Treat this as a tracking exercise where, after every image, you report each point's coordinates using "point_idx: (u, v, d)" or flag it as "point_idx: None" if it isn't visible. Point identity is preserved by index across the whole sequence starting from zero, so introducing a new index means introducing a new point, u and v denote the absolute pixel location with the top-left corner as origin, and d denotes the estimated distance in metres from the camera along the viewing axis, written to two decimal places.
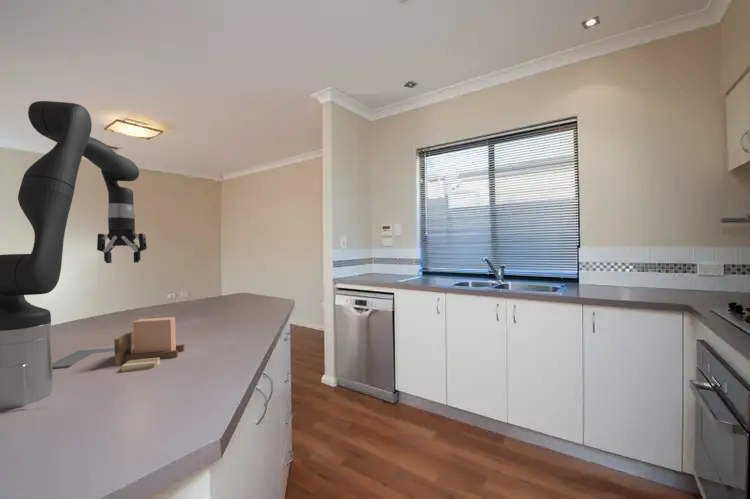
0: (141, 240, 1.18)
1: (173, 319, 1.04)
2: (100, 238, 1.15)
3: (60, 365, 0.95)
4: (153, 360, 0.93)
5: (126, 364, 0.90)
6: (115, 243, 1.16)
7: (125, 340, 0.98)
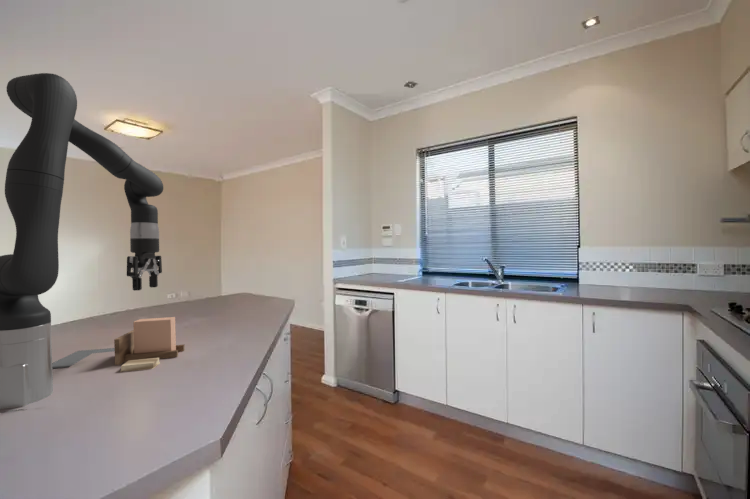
0: (160, 263, 1.11)
1: (173, 319, 1.04)
2: (137, 261, 0.99)
3: (60, 365, 0.95)
4: (153, 360, 0.93)
5: (125, 364, 0.90)
6: None
7: (125, 340, 0.98)
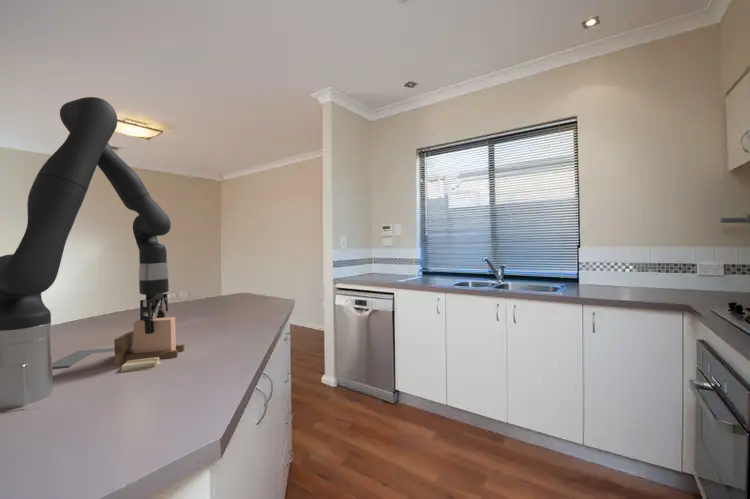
0: (167, 301, 1.09)
1: (173, 319, 1.04)
2: (150, 305, 0.96)
3: (60, 365, 0.95)
4: (153, 360, 0.93)
5: (126, 364, 0.90)
6: None
7: (125, 340, 0.98)
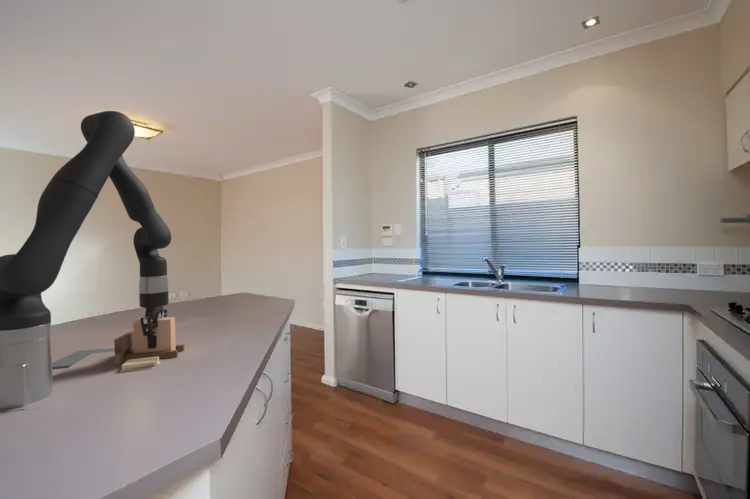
0: None
1: (173, 319, 1.04)
2: (151, 321, 0.97)
3: (60, 365, 0.95)
4: (153, 359, 0.93)
5: (126, 363, 0.90)
6: (157, 320, 1.01)
7: (125, 340, 0.98)
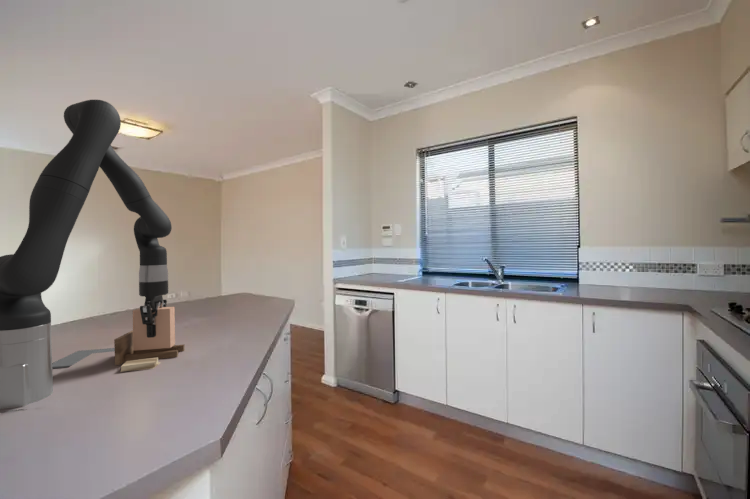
0: None
1: (172, 309, 1.03)
2: (151, 310, 0.97)
3: (60, 365, 0.95)
4: (153, 360, 0.93)
5: (125, 364, 0.90)
6: None
7: (125, 340, 0.98)
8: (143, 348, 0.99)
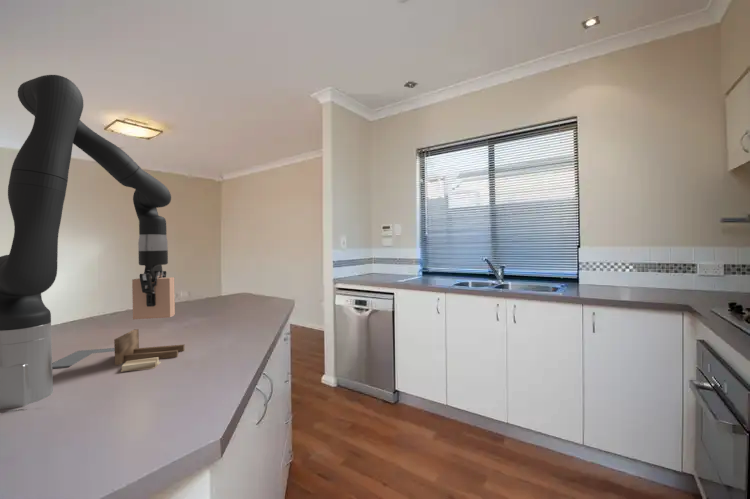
0: None
1: (172, 279, 1.03)
2: (150, 278, 0.97)
3: (60, 365, 0.95)
4: (153, 359, 0.93)
5: (126, 364, 0.90)
6: (156, 279, 1.01)
7: (125, 340, 0.98)
8: (143, 317, 0.99)
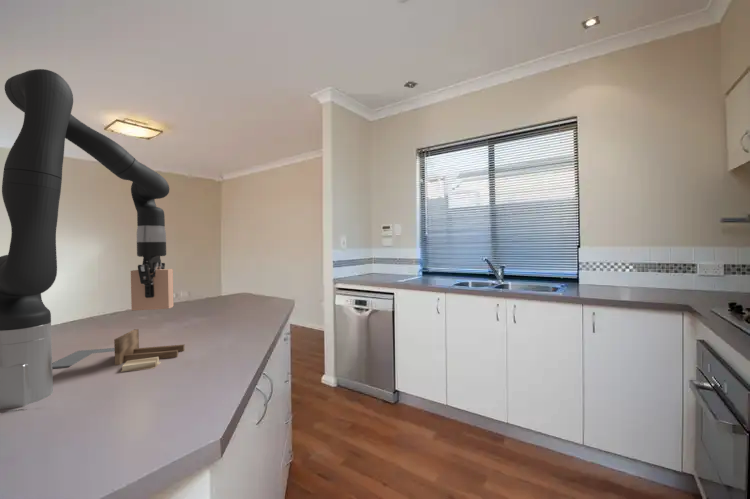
0: None
1: (170, 270, 1.03)
2: (149, 269, 0.97)
3: (60, 365, 0.95)
4: (153, 359, 0.94)
5: (126, 364, 0.90)
6: None
7: (125, 340, 0.98)
8: (141, 308, 0.99)
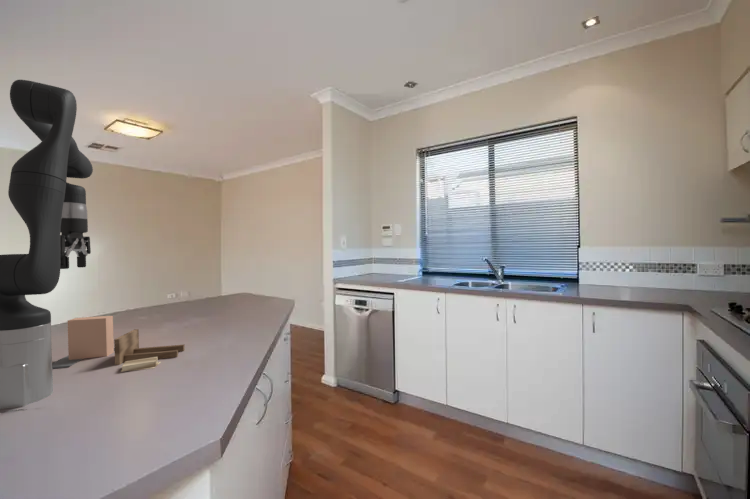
0: (89, 243, 1.13)
1: (110, 318, 1.05)
2: (64, 240, 1.01)
3: (60, 365, 0.95)
4: (153, 359, 0.94)
5: (126, 364, 0.90)
6: None
7: (125, 340, 0.98)
8: (79, 357, 1.01)
